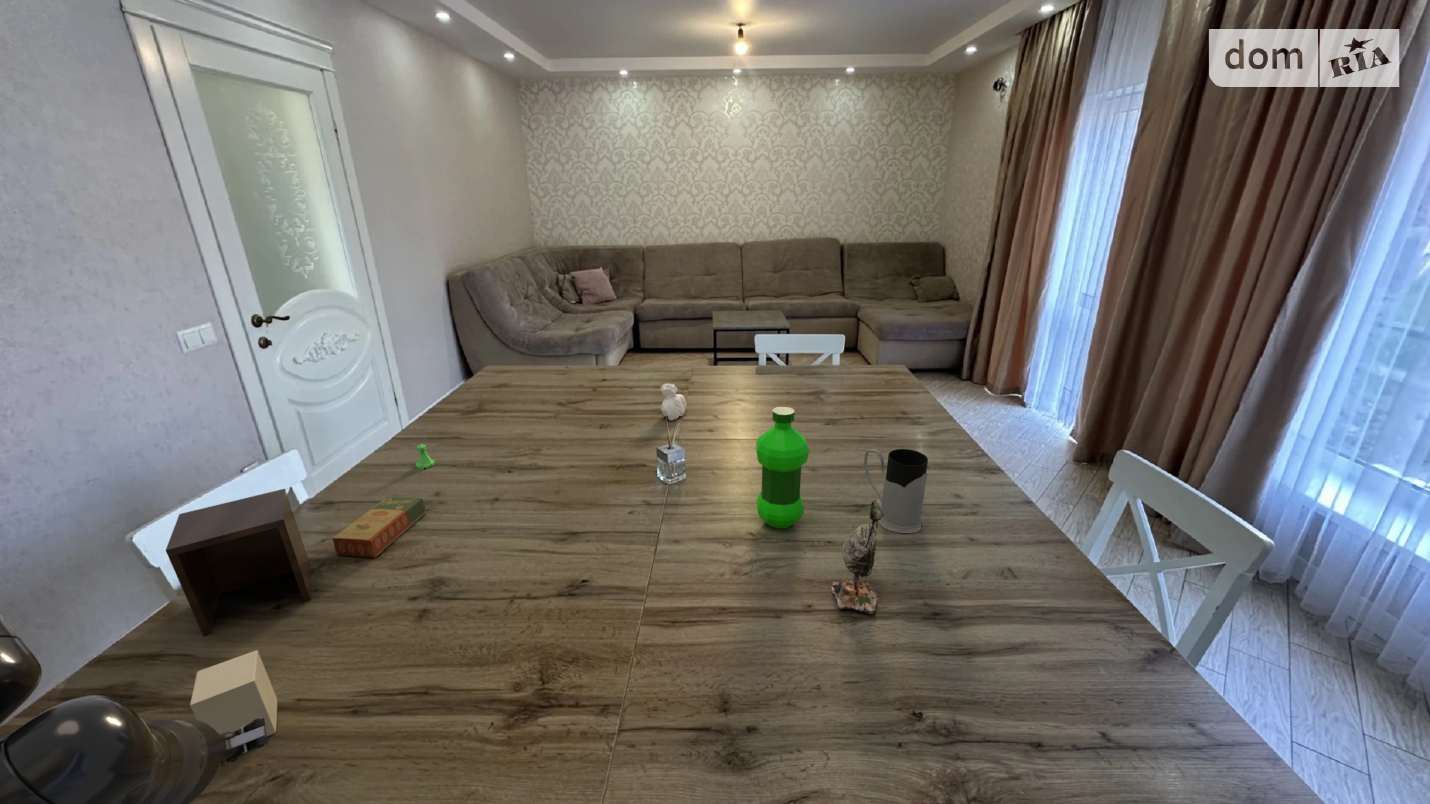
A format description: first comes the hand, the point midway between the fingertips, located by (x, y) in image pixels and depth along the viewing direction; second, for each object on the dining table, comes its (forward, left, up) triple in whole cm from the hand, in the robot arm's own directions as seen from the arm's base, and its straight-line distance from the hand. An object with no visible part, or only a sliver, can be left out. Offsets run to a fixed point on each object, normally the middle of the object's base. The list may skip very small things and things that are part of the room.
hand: (214, 758), depth 59 cm
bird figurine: (+84, -16, -8) cm, 86 cm away
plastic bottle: (+88, +8, -8) cm, 88 cm away
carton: (+20, +52, -8) cm, 56 cm away
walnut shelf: (0, +43, -8) cm, 43 cm away
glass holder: (+108, -4, -8) cm, 108 cm away
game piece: (+32, +80, -8) cm, 86 cm away
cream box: (0, +12, -8) cm, 15 cm away
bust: (+100, +71, -8) cm, 123 cm away
